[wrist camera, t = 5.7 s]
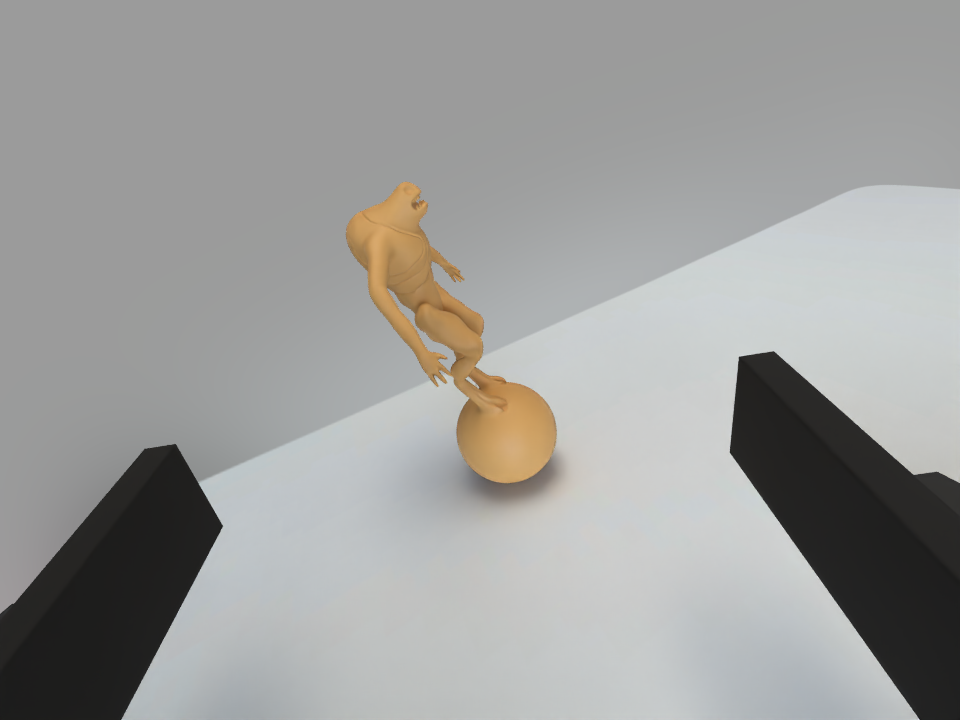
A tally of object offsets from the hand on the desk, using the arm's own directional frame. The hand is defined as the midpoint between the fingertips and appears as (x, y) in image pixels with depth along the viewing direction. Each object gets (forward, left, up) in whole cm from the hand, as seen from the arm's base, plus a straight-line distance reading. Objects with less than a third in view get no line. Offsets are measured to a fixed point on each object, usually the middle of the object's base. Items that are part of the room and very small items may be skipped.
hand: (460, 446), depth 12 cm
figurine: (0, +7, -7) cm, 10 cm away
